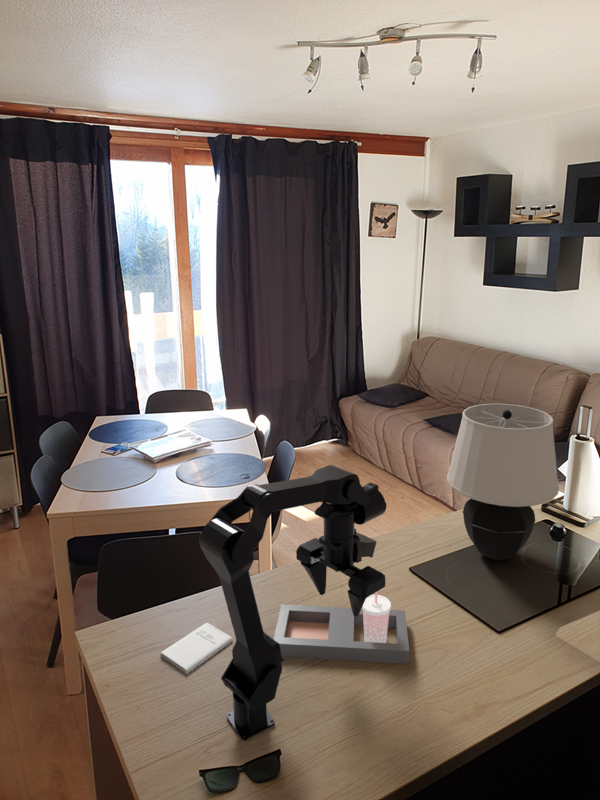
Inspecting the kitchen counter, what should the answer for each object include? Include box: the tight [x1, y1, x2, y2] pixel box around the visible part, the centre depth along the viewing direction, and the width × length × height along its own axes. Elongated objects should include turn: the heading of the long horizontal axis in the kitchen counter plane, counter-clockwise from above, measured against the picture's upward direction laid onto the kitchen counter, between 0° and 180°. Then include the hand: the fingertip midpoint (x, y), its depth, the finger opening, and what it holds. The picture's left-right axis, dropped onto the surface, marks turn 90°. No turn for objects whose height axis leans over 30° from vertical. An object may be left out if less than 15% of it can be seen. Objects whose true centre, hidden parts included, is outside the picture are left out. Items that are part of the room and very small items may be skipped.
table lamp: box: [446, 403, 560, 561], centre depth 150 cm, size 27×27×40 cm
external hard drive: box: [160, 622, 233, 675], centre depth 122 cm, size 2×8×12 cm
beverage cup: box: [362, 591, 392, 643], centre depth 122 cm, size 6×6×14 cm
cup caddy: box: [273, 603, 410, 665], centre depth 124 cm, size 27×13×3 cm, turn 84°
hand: (339, 604), depth 115 cm, fingers open, 9 cm apart
